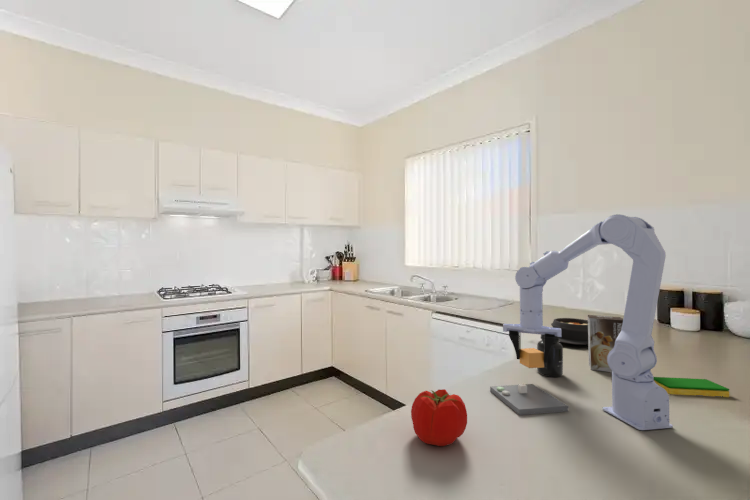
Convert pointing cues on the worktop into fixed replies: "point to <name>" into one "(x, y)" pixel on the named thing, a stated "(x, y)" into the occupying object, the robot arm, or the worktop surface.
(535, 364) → the orange wooden cube
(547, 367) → the supplement bottle
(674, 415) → the worktop surface
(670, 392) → the dish sponge
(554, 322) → the casserole
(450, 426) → the tomato
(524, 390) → the small white block
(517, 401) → the panel
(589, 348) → the coffee box
